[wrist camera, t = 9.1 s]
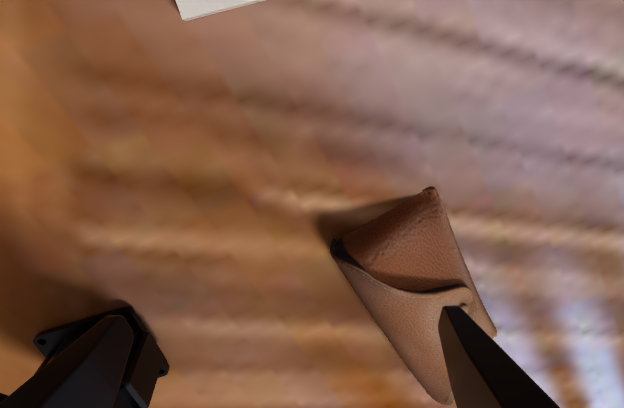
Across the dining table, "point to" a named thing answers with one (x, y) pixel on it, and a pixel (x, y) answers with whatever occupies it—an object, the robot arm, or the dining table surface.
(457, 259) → the sunglasses case
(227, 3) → the coaster
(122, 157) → the dining table surface
